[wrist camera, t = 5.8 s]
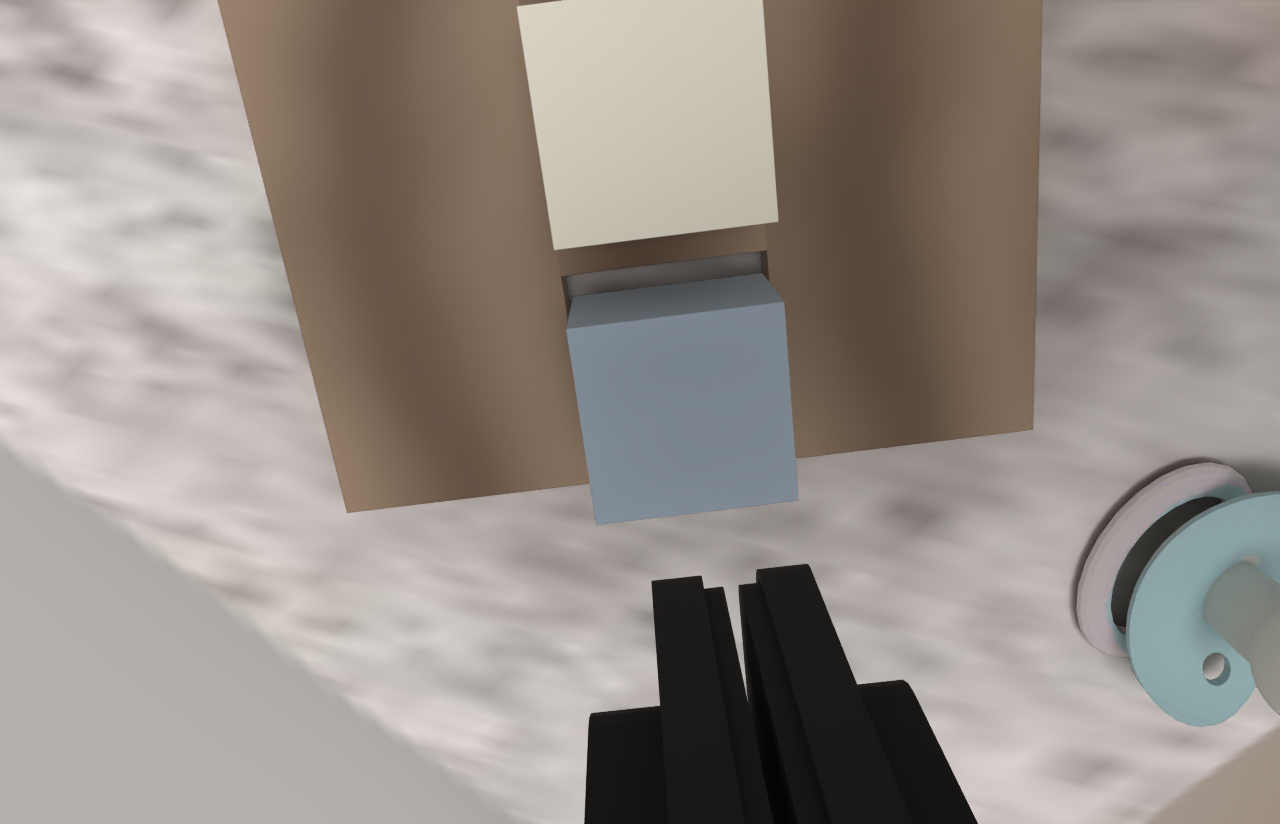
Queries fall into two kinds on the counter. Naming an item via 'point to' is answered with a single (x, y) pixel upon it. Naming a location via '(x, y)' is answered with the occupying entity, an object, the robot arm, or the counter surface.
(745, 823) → the robot arm
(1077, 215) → the counter surface
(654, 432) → the blue cube
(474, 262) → the walnut board
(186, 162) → the counter surface
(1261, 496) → the pacifier
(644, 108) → the cream cube
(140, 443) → the counter surface
